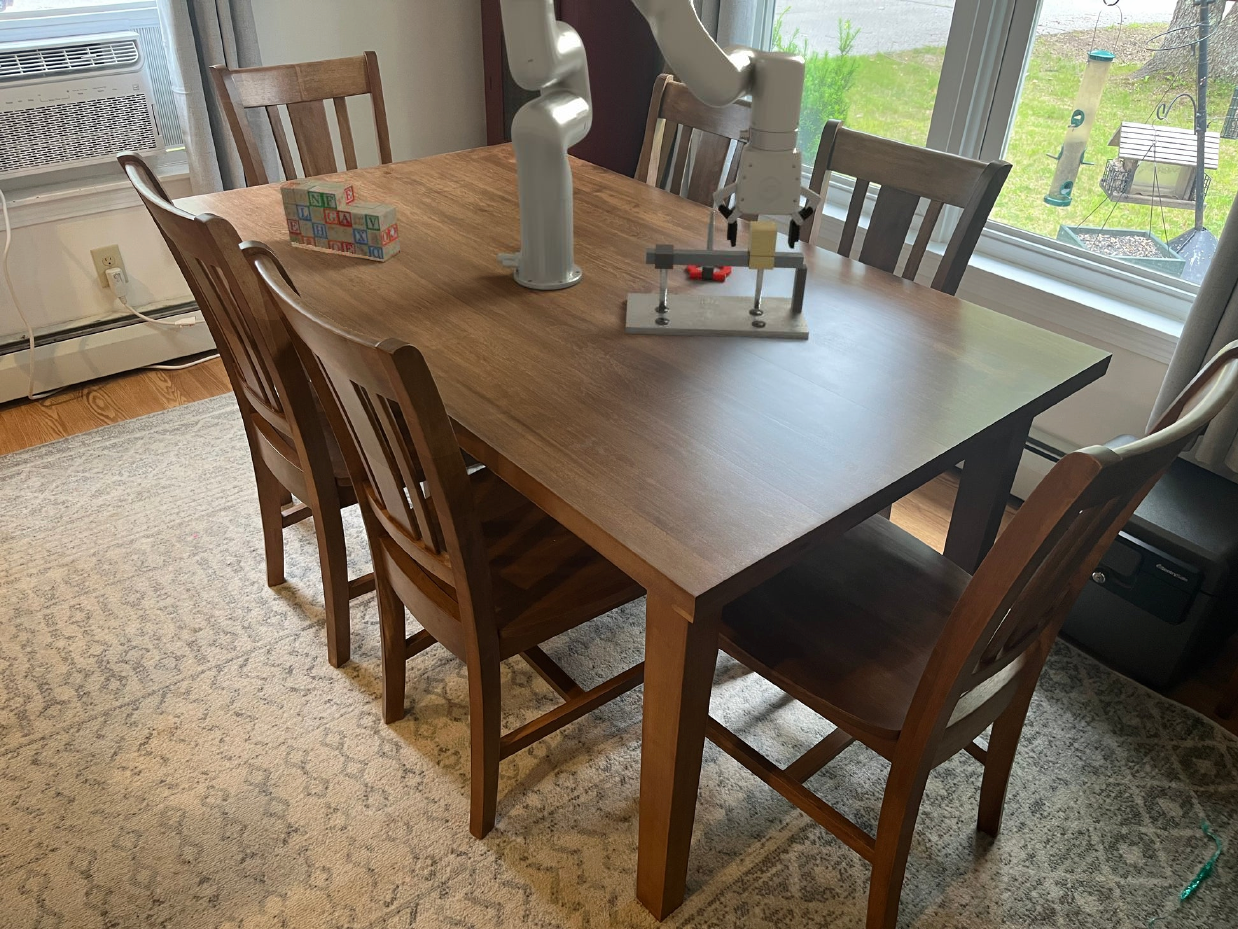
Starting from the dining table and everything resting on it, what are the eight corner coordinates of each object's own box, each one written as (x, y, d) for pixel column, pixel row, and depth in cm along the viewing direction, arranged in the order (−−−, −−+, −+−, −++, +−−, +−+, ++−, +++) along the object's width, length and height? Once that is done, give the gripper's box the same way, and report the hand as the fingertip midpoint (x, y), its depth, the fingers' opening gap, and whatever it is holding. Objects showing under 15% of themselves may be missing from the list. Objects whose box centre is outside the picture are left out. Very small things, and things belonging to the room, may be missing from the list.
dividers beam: (644, 310, 162) (646, 253, 157) (644, 299, 166) (646, 243, 160) (802, 315, 162) (810, 258, 156) (799, 304, 165) (806, 248, 160)
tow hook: (688, 263, 185) (684, 279, 177) (693, 197, 178) (688, 210, 171) (732, 267, 184) (729, 283, 176) (738, 200, 178) (736, 213, 170)
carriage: (745, 308, 161) (752, 230, 154) (743, 297, 165) (750, 221, 158) (768, 309, 161) (777, 231, 154) (766, 298, 165) (774, 221, 158)
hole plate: (625, 333, 157) (625, 326, 157) (627, 299, 169) (627, 292, 168) (808, 338, 157) (809, 331, 156) (797, 304, 168) (798, 297, 168)
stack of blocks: (401, 252, 186) (394, 190, 180) (384, 263, 181) (376, 199, 175) (309, 237, 193) (299, 176, 186) (290, 247, 188) (278, 185, 181)
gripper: (718, 143, 145) (710, 251, 155) (832, 146, 145) (817, 254, 154) (715, 131, 151) (708, 235, 161) (825, 134, 151) (811, 238, 161)
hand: (761, 245), depth 158 cm, fingers open, 9 cm apart
